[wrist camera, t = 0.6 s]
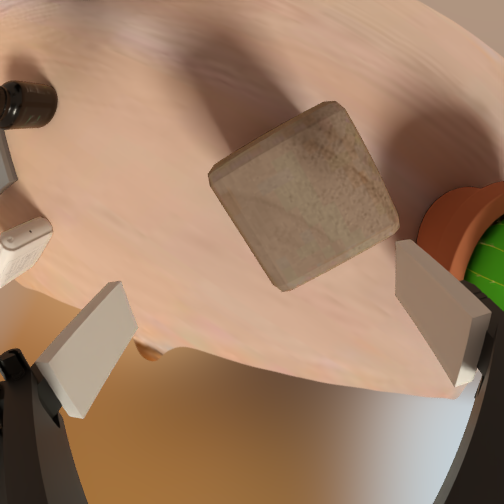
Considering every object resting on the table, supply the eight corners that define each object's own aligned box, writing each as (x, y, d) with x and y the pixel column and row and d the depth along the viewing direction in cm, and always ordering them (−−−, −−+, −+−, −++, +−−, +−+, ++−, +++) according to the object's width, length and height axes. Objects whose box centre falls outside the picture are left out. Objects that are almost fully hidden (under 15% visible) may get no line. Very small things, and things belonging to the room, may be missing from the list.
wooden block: (276, 226, 40) (280, 302, 21) (234, 158, 38) (198, 174, 19) (344, 187, 38) (409, 231, 19) (305, 117, 35) (340, 92, 17)
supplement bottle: (27, 92, 35) (-26, 90, 23) (58, 79, 34) (4, 70, 23) (29, 132, 37) (-25, 137, 26) (60, 121, 36) (4, 122, 25)
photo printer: (42, 210, 41) (-11, 233, 30) (57, 229, 42) (6, 257, 31) (20, 251, 44) (-27, 279, 32) (34, 269, 45) (-11, 300, 33)
